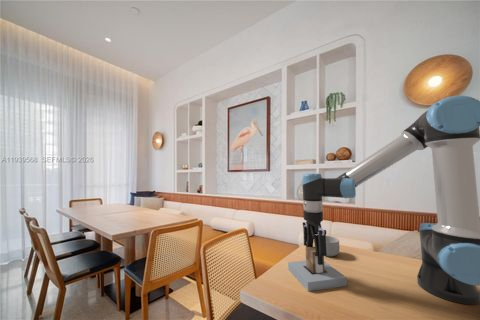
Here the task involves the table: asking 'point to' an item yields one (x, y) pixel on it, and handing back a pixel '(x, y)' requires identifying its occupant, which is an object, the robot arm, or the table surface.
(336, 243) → the teacup
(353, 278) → the table surface
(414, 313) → the table surface
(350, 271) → the table surface
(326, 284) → the housing
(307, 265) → the peg
